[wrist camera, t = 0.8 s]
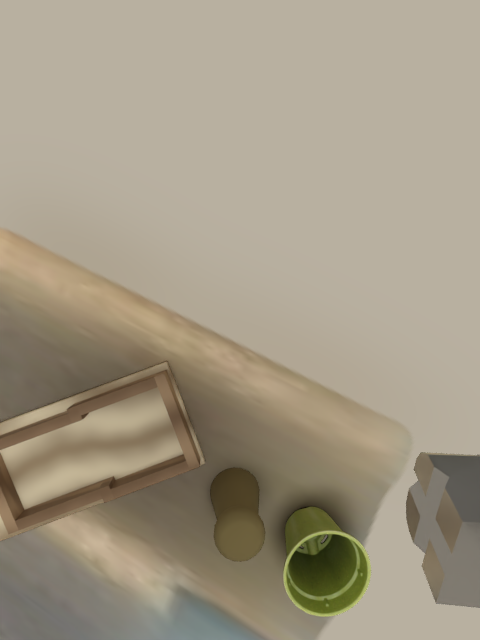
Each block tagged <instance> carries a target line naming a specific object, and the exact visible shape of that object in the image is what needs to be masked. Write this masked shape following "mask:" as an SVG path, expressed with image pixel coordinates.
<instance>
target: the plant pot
mask: <svg viewBox="0 0 480 640" xmlns="http://www.w3.org/2000/svg"><path fill="white" fill-rule="evenodd" d="M326 534H327V535H328V537H327V540H326V541H325V542H324V543H323V544H321V541H322V540H323V539H324V537H325V535H326ZM285 539H286V552H287V558H286V561H285V564H284V570H283V580H284V586H285V589H286V592H287V594H288V596H289V598H290V599H291V601H292V602H293V603H294V604H295V605H296V606H297V607H298V608H299V609H301V610H303V611H304V612H306V613H309V614H311V615H315V616H321V617H327V616H335V615H338V614H341V613H344V612H346V611H347V610H349V609H350V608H352V607H353V606H354V605H355V604H357V603H358V602H359V600H360V599H361V598H362V596H363V595H364V594H365V592H366V590H367V588H368V585H369V582H370V576H371V565H370V559H369V557H368V554H367V552H366V550H365V548H364V547H363V546H362V544H361V543H360V542H359V541H358V540H357V539H356V538H354V537H353V536H351V535H350V534H347V533H345V532H343V531H342V530H341V529H340V528H339V527H338V525H337V524H336V523H335V522H334V521H333V520H332V519H331V517H330V516H329V515H328V514H327V513H326V512H325V511H323V510H322V509H319V508H317V507H308V508H304V509H299V510H297V511H295V512H294V513H293V514H292V515H291V516H290V518H289V519H288V521H287V523H286V527H285ZM300 545H301V546H302V547H304V548H303V549H301V548H299V546H300Z"/></svg>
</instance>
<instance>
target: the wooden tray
mask: <svg viewBox="0 0 480 640" xmlns="http://www.w3.org/2000/svg"><path fill="white" fill-rule="evenodd" d="M203 464H205V458H204V456H203V453H202V450H201V448H200V445H199V443H198V440H197V437H196V435H195V432H194V429H193V427H192V424H191V422H190V419H189V416H188V414H187V411H186V408H185V406H184V403H183V400H182V398H181V395H180V393H179V390H178V387H177V385H176V382H175V379H174V377H173V374H172V372H171V369H170V366H169V364H168V361H166V362H163V363H160V364H158V365H155V366H152V367H149V368H147V369H144V370H141V371H138V372H136V373H133V374H130V375H128V376H125V377H122V378H119V379H117V380H114V381H111V382H109V383H106V384H103V385H100V386H98V387H95V388H92V389H90V390H87V391H84V392H81V393H79V394H76V395H73V396H70V397H68V398H65V399H62V400H60V401H57V402H54V403H51V404H49V405H46V406H43V407H41V408H38V409H35V410H32V411H30V412H27V413H24V414H22V415H19V416H16V417H13V418H11V419H8V420H5V421H2V422H0V541H2V540H5V539H7V538H10V537H13V536H15V535H18V534H21V533H23V532H26V531H28V530H31V529H34V528H36V527H39V526H42V525H44V524H47V523H50V522H52V521H55V520H58V519H60V518H63V517H65V516H68V515H71V514H73V513H76V512H79V511H81V510H84V509H87V508H89V507H92V506H95V505H97V504H100V503H102V502H104V503H105V502H108V501H111V500H113V499H116V498H119V497H121V496H124V495H127V494H129V493H132V492H135V491H137V490H140V489H142V488H145V487H148V486H150V485H153V484H156V483H158V482H161V481H164V480H166V479H169V478H172V477H174V476H177V475H179V474H182V473H185V472H187V471H190V470H193V469H195V468H198V467H200V465H203Z"/></svg>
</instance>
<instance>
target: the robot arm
mask: <svg viewBox="0 0 480 640" xmlns="http://www.w3.org/2000/svg"><path fill="white" fill-rule="evenodd" d="M414 471H415V473H416V476H417V478H418V480H419V481H417V482H416V483H415V484H414V485H413V486H411V487H410V488H409V492H408V496H407V501H406V515H407V517H406V518H407V523H408V528H409V532H410V534H411V537H412V540H413V542H414V544H416V546H418V547H419V548H420V549H421V550H422V551H423V552H424V553H425V557H424V560H423V564H422V567H423V570H424V573H425V575H426V578H427V581H428V583H429V586H430V589H431V591H432V594H433V597H434V599H435V602H436V604H447V605H457V606H467V607H478V608H480V455H463V454H444V453H425V452H422V453H420V454H419V456H418V457H417V460H416V463H415V467H414Z"/></svg>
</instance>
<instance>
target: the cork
mask: <svg viewBox="0 0 480 640" xmlns="http://www.w3.org/2000/svg"><path fill="white" fill-rule="evenodd" d="M210 495H211V500H212V504H213V507H214V511H215V515H216V518H217V522H216V524H215V528H214V540H215V544H216V546H217V548H218V550H219V551H220V553H221V554H222V555H223V556H224V557H226V558H227V559H230V560H232V561H239V562H242V561H246V560H249V559H251V558H252V557H254V556H255V555H256V554H257V553H258V552H259V551H260V550H261V548H262V546H263V544H264V539H265V529H264V524H263V521H262V520H261V518H260V516H259V515H258V508H259V486H258V482H257V480H256V479H255V477H254V476H253V475H252V474H251V473H250V472H249V471H246V470H244V469H242V468H230V469H226V470H224V471H222V472H221V473H219V474H218V475H217V476H216V478H215V479H214V480H213V483H212V485H211V490H210Z"/></svg>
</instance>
